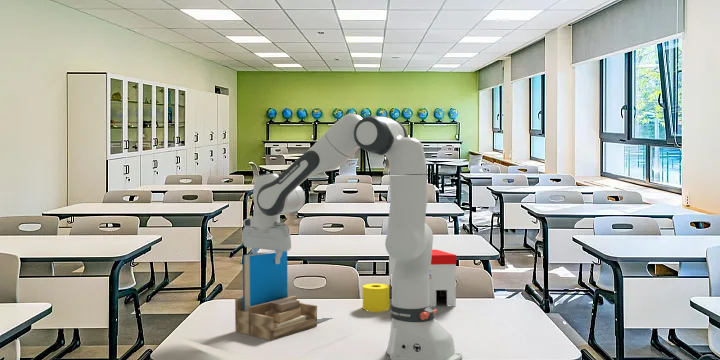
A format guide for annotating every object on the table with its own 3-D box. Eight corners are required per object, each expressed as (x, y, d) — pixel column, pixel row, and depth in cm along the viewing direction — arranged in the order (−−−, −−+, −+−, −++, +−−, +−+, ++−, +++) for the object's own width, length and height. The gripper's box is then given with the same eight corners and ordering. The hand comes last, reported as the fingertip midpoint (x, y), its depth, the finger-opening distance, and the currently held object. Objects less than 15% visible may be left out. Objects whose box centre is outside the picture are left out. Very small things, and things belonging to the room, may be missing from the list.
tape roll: (357, 310, 223) (357, 285, 222) (379, 306, 228) (379, 282, 228) (372, 315, 214) (372, 289, 214) (394, 312, 220) (394, 286, 220)
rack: (317, 326, 200) (316, 293, 200) (271, 340, 183) (271, 305, 183) (281, 318, 210) (281, 287, 210) (235, 331, 194) (235, 297, 194)
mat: (352, 313, 218) (352, 312, 218) (315, 324, 202) (315, 323, 202) (331, 309, 224) (331, 308, 224) (294, 319, 208) (294, 318, 208)
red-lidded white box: (402, 311, 221) (402, 255, 221) (389, 292, 256) (389, 244, 256) (456, 310, 223) (456, 255, 223) (436, 291, 258) (436, 243, 258)
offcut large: (306, 324, 198) (306, 315, 198) (277, 334, 187) (277, 324, 187) (290, 321, 202) (290, 312, 202) (261, 330, 191) (261, 321, 191)
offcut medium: (300, 316, 197) (300, 307, 197) (279, 323, 188) (279, 314, 188) (286, 314, 200) (286, 305, 200) (265, 321, 191) (265, 312, 191)
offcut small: (299, 308, 196) (299, 300, 196) (281, 312, 190) (281, 304, 190) (289, 305, 199) (289, 298, 199) (271, 310, 193) (270, 302, 193)
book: (250, 332, 192) (250, 256, 192) (242, 330, 195) (241, 255, 194) (289, 322, 205) (289, 250, 205) (280, 320, 208) (280, 249, 208)
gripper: (295, 222, 195) (295, 264, 195) (253, 219, 208) (253, 258, 208) (281, 223, 190) (281, 266, 190) (239, 220, 203) (239, 260, 203)
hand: (266, 262), depth 199 cm, fingers open, 8 cm apart
